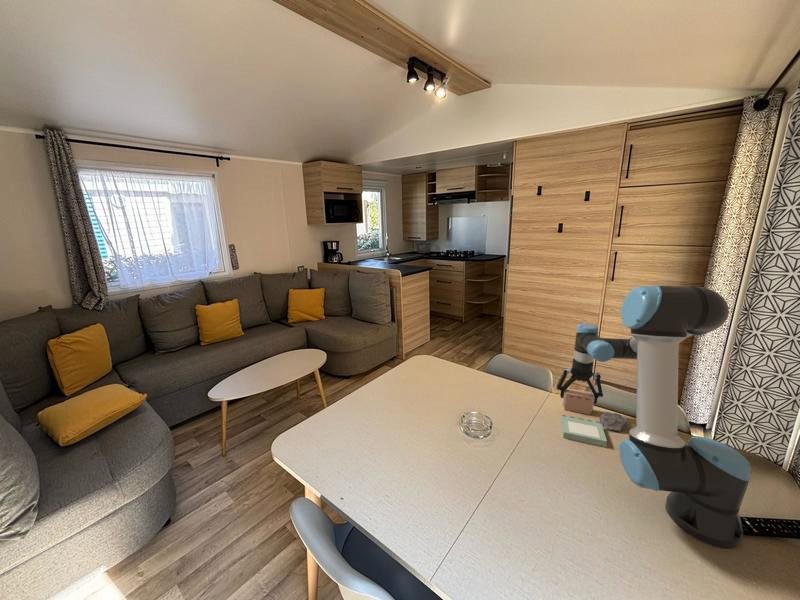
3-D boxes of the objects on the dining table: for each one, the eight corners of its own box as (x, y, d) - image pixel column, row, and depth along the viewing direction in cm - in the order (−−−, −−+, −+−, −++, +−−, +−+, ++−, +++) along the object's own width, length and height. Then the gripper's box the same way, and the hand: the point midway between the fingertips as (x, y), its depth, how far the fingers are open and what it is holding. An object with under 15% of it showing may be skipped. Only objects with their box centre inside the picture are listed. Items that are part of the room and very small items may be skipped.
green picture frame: (606, 447, 114) (607, 441, 113) (563, 437, 119) (563, 431, 118) (599, 427, 124) (600, 422, 124) (560, 419, 130) (561, 414, 129)
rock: (629, 425, 126) (631, 416, 125) (617, 435, 120) (619, 426, 119) (605, 415, 133) (606, 406, 132) (593, 424, 127) (594, 415, 126)
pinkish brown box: (590, 414, 133) (593, 397, 131) (564, 409, 136) (566, 393, 134) (588, 408, 137) (591, 391, 135) (563, 403, 141) (565, 387, 139)
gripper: (612, 360, 130) (605, 407, 136) (553, 352, 139) (548, 397, 144) (617, 368, 124) (609, 417, 129) (554, 359, 132) (548, 405, 137)
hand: (577, 406), depth 136 cm, fingers closed on pinkish brown box, 10 cm apart
